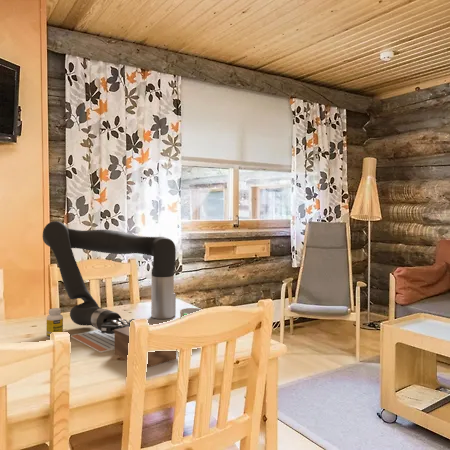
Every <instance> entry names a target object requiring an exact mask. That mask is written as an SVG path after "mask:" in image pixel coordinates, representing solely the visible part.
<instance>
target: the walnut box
mask: <svg viewBox="0 0 450 450" xmlns="http://www.w3.org/2000/svg"><path fill="white" fill-rule="evenodd" d="M149 325H153V324H151V323H149ZM129 327H130V326H129ZM129 327H124V328H119V329H115V330H114V332H115V349H114V355H116V356H118V357H119V358H121V359H123V360H125V361H127V355H128V343H129ZM175 360H177V350H176V351H155V352H148V364H147V368H150V367H154V366H157V365H160V363H161V364H165V363H166V362H171V361H175Z"/></svg>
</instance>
